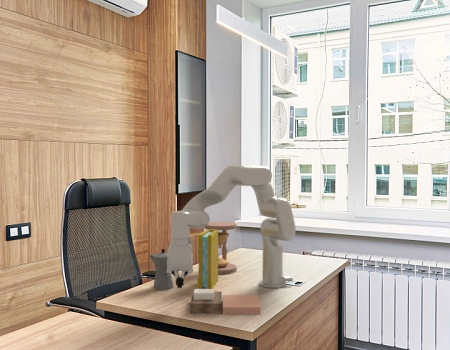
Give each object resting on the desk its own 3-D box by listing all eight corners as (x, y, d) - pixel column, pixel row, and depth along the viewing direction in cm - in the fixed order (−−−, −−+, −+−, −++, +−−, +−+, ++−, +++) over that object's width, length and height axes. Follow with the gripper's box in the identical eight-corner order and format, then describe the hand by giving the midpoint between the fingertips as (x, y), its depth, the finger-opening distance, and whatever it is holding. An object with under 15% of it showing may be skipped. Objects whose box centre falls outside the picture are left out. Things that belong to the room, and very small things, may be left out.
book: (212, 290, 211) (212, 235, 210) (197, 289, 213) (197, 234, 212) (219, 280, 228) (219, 229, 227) (206, 279, 229) (206, 229, 228)
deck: (221, 300, 195) (221, 291, 195) (221, 313, 179) (221, 303, 179) (193, 300, 195) (193, 291, 195) (190, 313, 179) (190, 303, 179)
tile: (214, 295, 190) (214, 288, 190) (213, 299, 184) (213, 293, 184) (194, 295, 190) (194, 288, 190) (193, 299, 184) (193, 293, 184)
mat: (257, 300, 195) (257, 295, 195) (260, 313, 179) (260, 307, 179) (222, 300, 195) (222, 295, 195) (222, 313, 179) (222, 307, 179)
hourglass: (225, 276, 236) (225, 227, 235) (197, 271, 246) (197, 224, 245) (242, 269, 251) (242, 222, 250) (215, 265, 260) (215, 220, 259)
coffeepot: (146, 290, 211) (146, 250, 211) (151, 284, 221) (151, 246, 220) (180, 290, 210) (180, 251, 209) (183, 285, 219) (183, 247, 219)
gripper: (199, 240, 190) (198, 285, 191) (162, 240, 190) (162, 284, 191) (198, 243, 183) (197, 290, 183) (160, 243, 182) (159, 289, 183)
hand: (179, 287), depth 187 cm, fingers closed
